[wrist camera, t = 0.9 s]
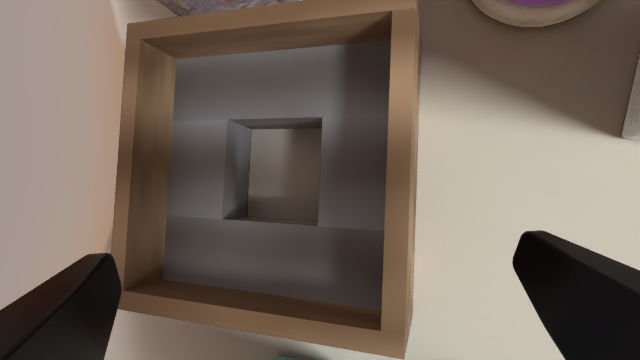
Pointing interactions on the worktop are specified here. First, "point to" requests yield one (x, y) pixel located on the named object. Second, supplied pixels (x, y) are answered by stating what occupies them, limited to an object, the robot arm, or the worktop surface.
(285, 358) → the peg
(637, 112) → the supplement box
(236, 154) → the bore box
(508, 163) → the worktop surface
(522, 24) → the stacking toy
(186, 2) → the weathered brown brick
